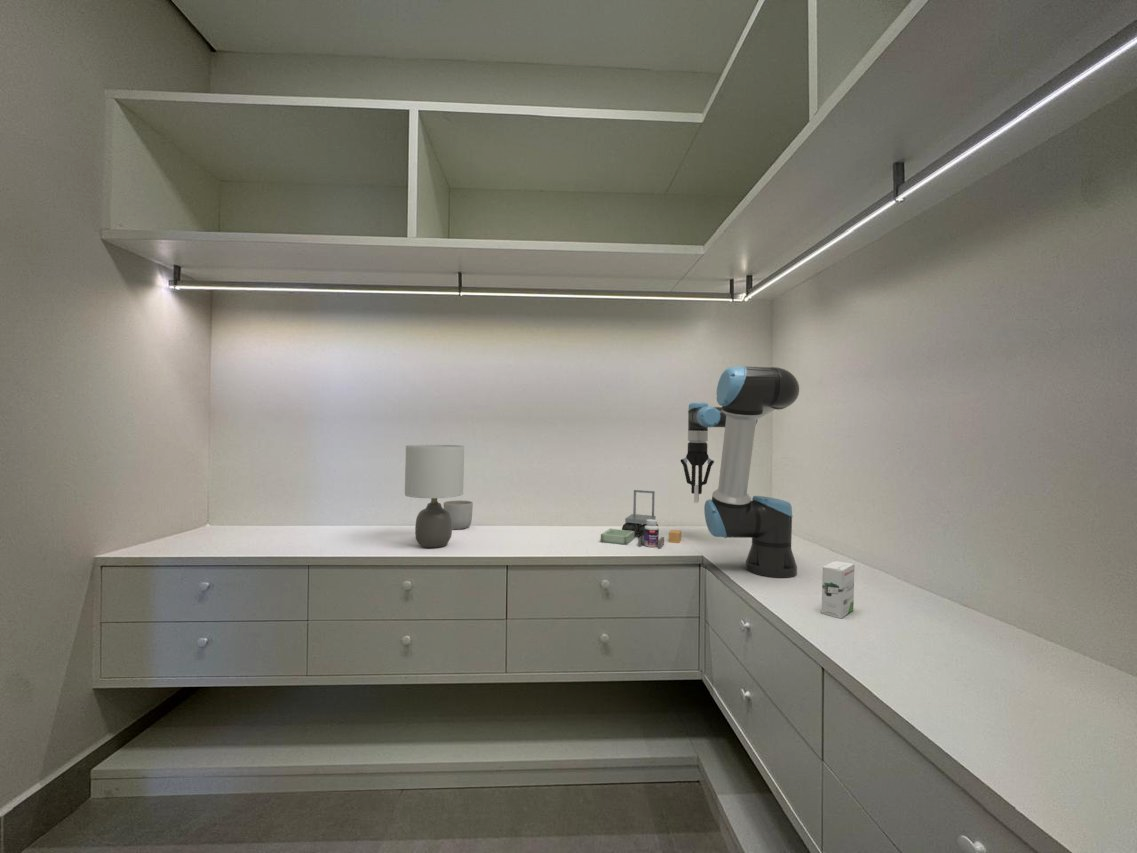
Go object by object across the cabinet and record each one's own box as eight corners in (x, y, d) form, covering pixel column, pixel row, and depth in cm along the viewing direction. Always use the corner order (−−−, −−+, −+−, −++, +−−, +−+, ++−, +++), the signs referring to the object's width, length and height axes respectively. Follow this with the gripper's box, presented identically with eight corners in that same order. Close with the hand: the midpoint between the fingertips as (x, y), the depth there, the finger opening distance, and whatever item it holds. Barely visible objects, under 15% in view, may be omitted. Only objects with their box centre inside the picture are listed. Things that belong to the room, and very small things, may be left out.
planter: (476, 525, 221) (477, 501, 221) (464, 531, 209) (465, 505, 209) (451, 524, 224) (451, 499, 224) (437, 529, 212) (438, 503, 212)
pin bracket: (660, 548, 185) (660, 540, 185) (638, 546, 188) (638, 538, 188) (664, 544, 192) (664, 537, 192) (642, 542, 195) (642, 534, 195)
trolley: (652, 539, 200) (653, 494, 200) (621, 536, 205) (622, 492, 205) (658, 534, 211) (659, 491, 211) (628, 531, 216) (629, 489, 216)
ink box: (833, 605, 128) (834, 559, 128) (854, 610, 125) (855, 563, 125) (820, 613, 122) (821, 565, 122) (842, 619, 119) (843, 569, 119)
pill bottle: (649, 547, 186) (649, 521, 186) (641, 544, 191) (641, 519, 191) (661, 546, 189) (661, 521, 189) (653, 543, 193) (653, 518, 193)
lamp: (453, 553, 172) (455, 447, 172) (394, 551, 173) (396, 446, 173) (468, 540, 193) (470, 445, 193) (415, 538, 194) (417, 444, 194)
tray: (626, 544, 190) (626, 537, 190) (600, 542, 194) (600, 534, 194) (634, 538, 202) (634, 531, 202) (609, 535, 205) (609, 528, 206)
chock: (679, 543, 195) (679, 533, 195) (668, 542, 196) (668, 532, 196) (681, 540, 201) (681, 530, 201) (671, 539, 202) (671, 529, 202)
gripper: (715, 442, 197) (714, 502, 197) (682, 441, 202) (681, 499, 202) (714, 442, 190) (712, 504, 190) (679, 441, 195) (678, 502, 195)
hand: (696, 502), depth 196 cm, fingers closed
